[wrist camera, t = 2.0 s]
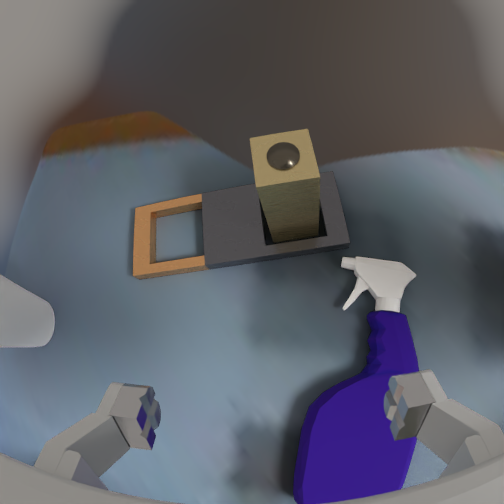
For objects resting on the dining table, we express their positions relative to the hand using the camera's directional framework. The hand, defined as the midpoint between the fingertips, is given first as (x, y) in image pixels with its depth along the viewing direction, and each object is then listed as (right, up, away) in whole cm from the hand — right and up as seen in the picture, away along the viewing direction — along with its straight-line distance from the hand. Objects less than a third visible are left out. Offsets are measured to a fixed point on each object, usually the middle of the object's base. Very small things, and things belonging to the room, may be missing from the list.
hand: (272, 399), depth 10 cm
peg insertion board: (-2, +7, +24) cm, 25 cm away
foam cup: (-28, -4, +25) cm, 38 cm away
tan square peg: (+3, +8, +23) cm, 25 cm away
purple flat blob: (+10, -8, +17) cm, 21 cm away
